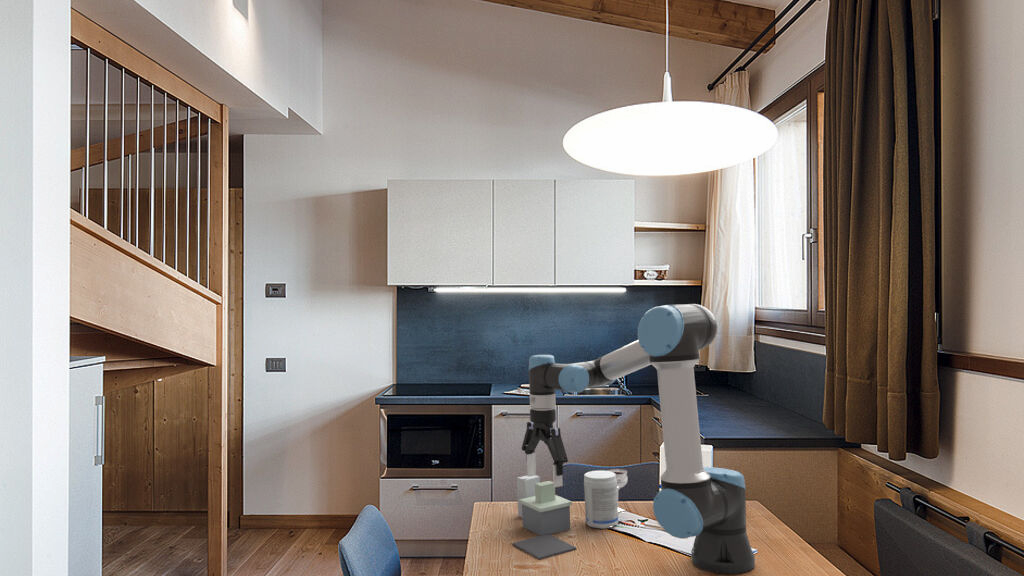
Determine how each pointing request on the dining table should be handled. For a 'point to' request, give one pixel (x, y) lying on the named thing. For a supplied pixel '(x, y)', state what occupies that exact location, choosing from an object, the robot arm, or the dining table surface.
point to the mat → (544, 546)
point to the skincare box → (526, 489)
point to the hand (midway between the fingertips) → (544, 481)
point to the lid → (545, 498)
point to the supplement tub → (601, 499)
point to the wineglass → (620, 481)
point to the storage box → (546, 520)
